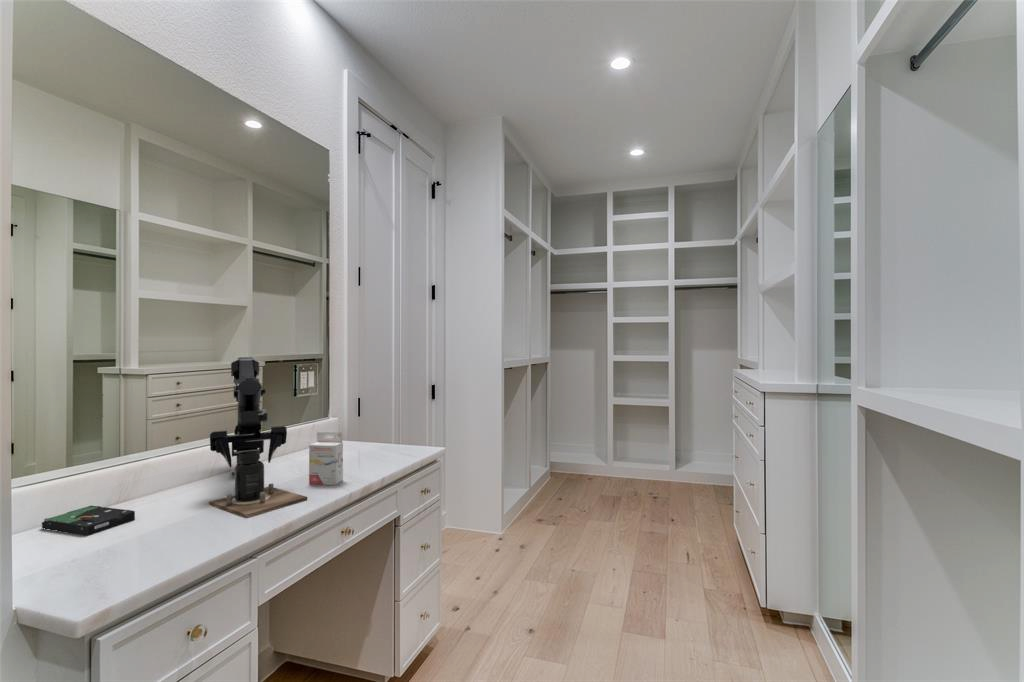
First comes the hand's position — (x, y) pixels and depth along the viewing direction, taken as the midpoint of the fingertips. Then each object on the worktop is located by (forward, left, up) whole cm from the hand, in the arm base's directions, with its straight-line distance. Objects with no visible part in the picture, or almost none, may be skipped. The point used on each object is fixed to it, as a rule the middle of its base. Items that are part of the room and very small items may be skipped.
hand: (250, 464), depth 132 cm
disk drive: (-12, -31, -10) cm, 34 cm away
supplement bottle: (+4, -2, -8) cm, 9 cm away
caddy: (+6, -1, -9) cm, 11 cm away
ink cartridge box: (+5, +20, -9) cm, 23 cm away
